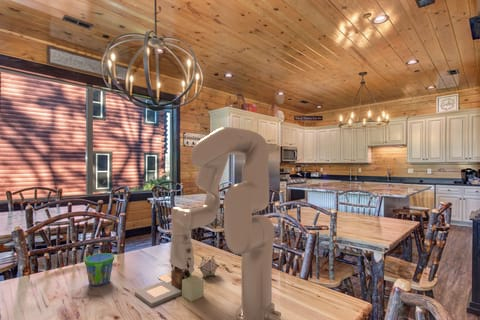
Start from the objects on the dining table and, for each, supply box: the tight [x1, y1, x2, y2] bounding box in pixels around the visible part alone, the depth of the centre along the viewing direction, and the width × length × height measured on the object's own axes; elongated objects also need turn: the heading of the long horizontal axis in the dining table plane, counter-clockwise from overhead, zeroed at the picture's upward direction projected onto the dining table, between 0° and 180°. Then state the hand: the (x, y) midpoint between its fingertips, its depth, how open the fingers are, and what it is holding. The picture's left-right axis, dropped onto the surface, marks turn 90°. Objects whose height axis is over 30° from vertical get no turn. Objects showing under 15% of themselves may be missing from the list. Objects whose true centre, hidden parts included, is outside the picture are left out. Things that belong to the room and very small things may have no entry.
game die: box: [197, 255, 220, 279], centre depth 116 cm, size 9×8×10 cm
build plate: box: [134, 281, 182, 308], centre depth 100 cm, size 12×12×1 cm
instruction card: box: [157, 272, 171, 284], centre depth 115 cm, size 7×10×1 cm
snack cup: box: [84, 252, 115, 287], centre depth 110 cm, size 16×10×10 cm
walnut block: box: [170, 268, 192, 291], centre depth 107 cm, size 6×6×6 cm
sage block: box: [181, 275, 205, 302], centre depth 99 cm, size 6×6×6 cm
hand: (181, 283), depth 107 cm, fingers closed on walnut block, 5 cm apart
